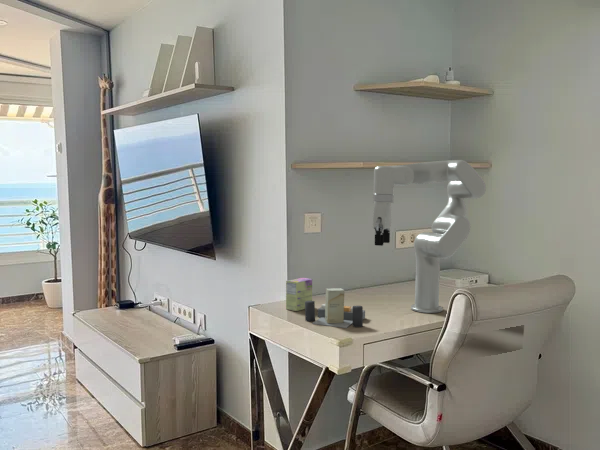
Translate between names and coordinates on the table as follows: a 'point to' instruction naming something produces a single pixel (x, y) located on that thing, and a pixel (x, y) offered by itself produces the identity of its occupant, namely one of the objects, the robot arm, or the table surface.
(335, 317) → the skincare box
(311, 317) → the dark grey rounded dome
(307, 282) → the box
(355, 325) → the dark grey capsule
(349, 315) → the grey button panel
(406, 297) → the table surface
